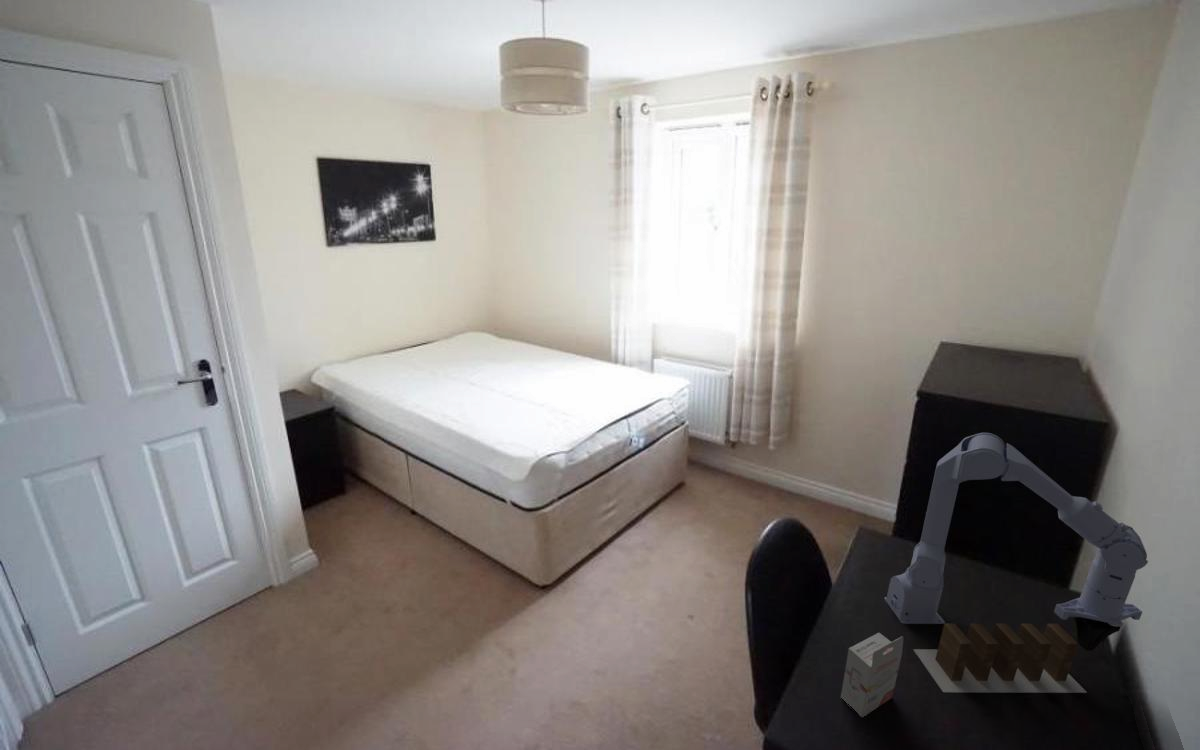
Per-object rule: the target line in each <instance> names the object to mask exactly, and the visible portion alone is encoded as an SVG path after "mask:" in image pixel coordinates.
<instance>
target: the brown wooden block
mask: <svg viewBox="0 0 1200 750" xmlns="http://www.w3.org/2000/svg"><path fill="white" fill-rule="evenodd" d="M1042 635H1043V636H1045V637H1046V638H1047V639H1048V640H1049V641H1050V642H1051V643H1052V645H1051V648H1050V651H1049V654H1048V657H1047V660H1046V663H1045V666H1044V670H1045V671H1046V672H1047V673H1048V674H1049V675H1050V676H1051V677H1052V678H1053V679H1054V680H1055V681H1066V678H1067V676H1068V674H1069V673H1070V670H1071V667H1072V664H1073V662H1074V660H1075V659H1074V658H1075V655H1076V653H1077V651H1078V648H1079V646H1080V645H1079V644H1078V643H1077V640H1075V639H1074V638H1073V637H1072V636H1071V634H1069V633H1068V632H1067V631H1066V630H1064V629H1063V627H1061V626H1060V625H1059V623H1046V625H1045V628H1044V632H1043V633H1042Z"/></svg>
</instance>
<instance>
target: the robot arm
mask: <svg viewBox="0 0 1200 750" xmlns="http://www.w3.org/2000/svg"><path fill="white" fill-rule="evenodd" d="M935 467H936V468H935V471H934V476H933V481H932V484H931V488H930V489H931V490H930V493H929V494H930V495H929V499H928V504H927V509H926V512H925V518H924V522H923V527H922V531H921V532H922V533H921V537H920V541H919V543H916V545H915V546H914V548H913V552H912V553H913V555H912V559H911V563H910V566H908V567H907V568H906V571H905V572H903V573H901V574H898V575H894V576H892V577H891V578H890V580H889V585H888V589H887V595H886V596H885V597H884V601H885V602H886V603H887V605H888V606H889V607H890V609H891V611H892V612H893V613H894V614H895V616H896V617H897V618H898V620H899V621H900V623H901V624H903V625H904V624H905V625H911V624H912V625H913V624H914V625H919V624H920V625H944V623H946V621H945V620H944V619H943V617H942V616H941V615H940V614H939V613H938V608H939V605H940V601H941V597H942V593H943V589H944V585H945V582H944V571H945V570H944V569H945V564H946V562H947V554H946V551H945V547H946V542H947V538H948V534H949V529H950V525H951V521H952V518H953V517H952V516H953V513H954V507H955V503H956V499H957V494H958V491H959V487H960V486H959V485H960V484H961V483H963V482H966V481H967V482H968V481H973V480H974V481H976V480H977V481H978V480H980V481H981V480H993V479H996V478H999V477H1000V481H1002V482H1015V481H1016V482H1017V481H1018V482H1020V483H1021V484H1023V485H1024V486H1025V487H1027V488H1028V489H1030V490H1031V491H1033V492H1034V493H1035V494H1036V495H1038V496H1039V497H1041V498H1042V499H1043V500H1045V501H1046V502H1048V503H1049V504H1051V505H1052V506H1053V507H1054V508H1056V509H1057V515H1058V519H1059V520H1060V521H1061V522H1063V523H1064V524H1065V525H1067V526H1068V527H1069V528H1071V529H1072V530H1073V531H1074V532H1075V533H1077V534H1078V535H1079V536H1080V537H1082V539H1084V540H1086V541H1087V542H1088V543H1090V544H1091V545H1093V546H1095V547H1096V548H1097V552H1096V555H1095V557H1094V559H1093V560H1092V562H1091V566H1090V569H1089V571H1088V574H1087V578H1086V579H1085V582H1084V586H1083V587H1082V591H1081V594H1080V596H1079V597H1076V598H1074V599H1071V600H1069V601H1066V602H1063V603H1056V605H1055V608H1054V609H1053V613H1054V614H1055V615H1056V616H1057V617H1059V618H1060V619H1061V621H1062V620H1064V621H1065V620H1068V619H1069V618H1073V620H1074V623H1075V627H1076V637H1077V638H1076V639H1077V640H1076V642H1077V643H1078V644H1079V645H1078V646H1080V647H1082V649H1083V650H1085V651H1091V652H1092V651H1094V650H1096V648H1097V647H1098V646H1099V645H1100V644H1101V643H1102V642H1103V641H1104V640H1105V639H1106V638H1108V637H1109V636H1111V635H1112V634H1115V633H1118V632H1119V631H1120V630H1121V628H1122V627H1123V625H1124V622H1123V621H1125V620H1126V619H1129V618H1131V619H1132V620H1134V621H1137V620H1138V621H1139V620H1141V616H1142V614H1143V611H1142V610H1141V609H1140V608H1139V607H1137V606H1136V605H1134V604H1133V603H1126V601H1127V598H1128V596H1129V594H1130V591H1131V589H1132V586H1133V583H1134V580H1135V578H1136V573H1137V571H1138V570H1141V569H1142V568H1144V567H1145V566H1147V564H1148V562H1149V561H1148V560H1147V558H1148V554H1147V551H1146V548H1145V546H1144V544H1143V541H1142V539H1141V537H1140V536H1139V534H1138V533H1137V532H1136V531H1135V530H1134V528H1133V527H1132V526H1130V525H1128V524H1125V523H1124V522H1119V521H1117V520H1115V519H1114V518H1113V517H1112V516H1110V515H1109V514H1108V513H1106V512H1105V511H1103V510H1104V508H1103V506H1102V504H1101V503H1099V502H1098V501H1092V502H1091V500H1089V499H1088V498H1087V497H1082V496H1074V495H1071V494H1070V493H1069V492H1068V491H1066V490H1065V488H1063V487H1062V486H1060V485H1059V484H1058V483H1057V482H1056V481H1055V480H1053V479H1052V478H1051V477H1050V476H1049V475H1047V474H1046V473H1045V472H1044V471H1042V470H1041V469H1040V468H1039V467H1038V466H1037V465H1036V464H1034V462H1032V461H1031V460H1030V459H1028V458H1027V457H1026V456H1025V455H1024V454H1023V453H1021V452H1020V451H1019V450H1018V449H1017V448H1016V447H1014V446H1013V445H1011V444H1010V443H1008V442H1007V443H1006V444H1005V442H1004V440H1003V439H1002V438H1001V437H999V436H998V435H996V434H993V433H991V432H980V433H975V434H973V435H969V436H965V437H964V438H963V439H962V440H961V441H960V442H959V443H958V444H957V446H955V447H954V448H953V449H951V450H950V451H949V452H948V453H946V454H945V455H944V456H943V457H941V458H940V459H939V460H938V461H937V462H936V466H935Z"/></svg>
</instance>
